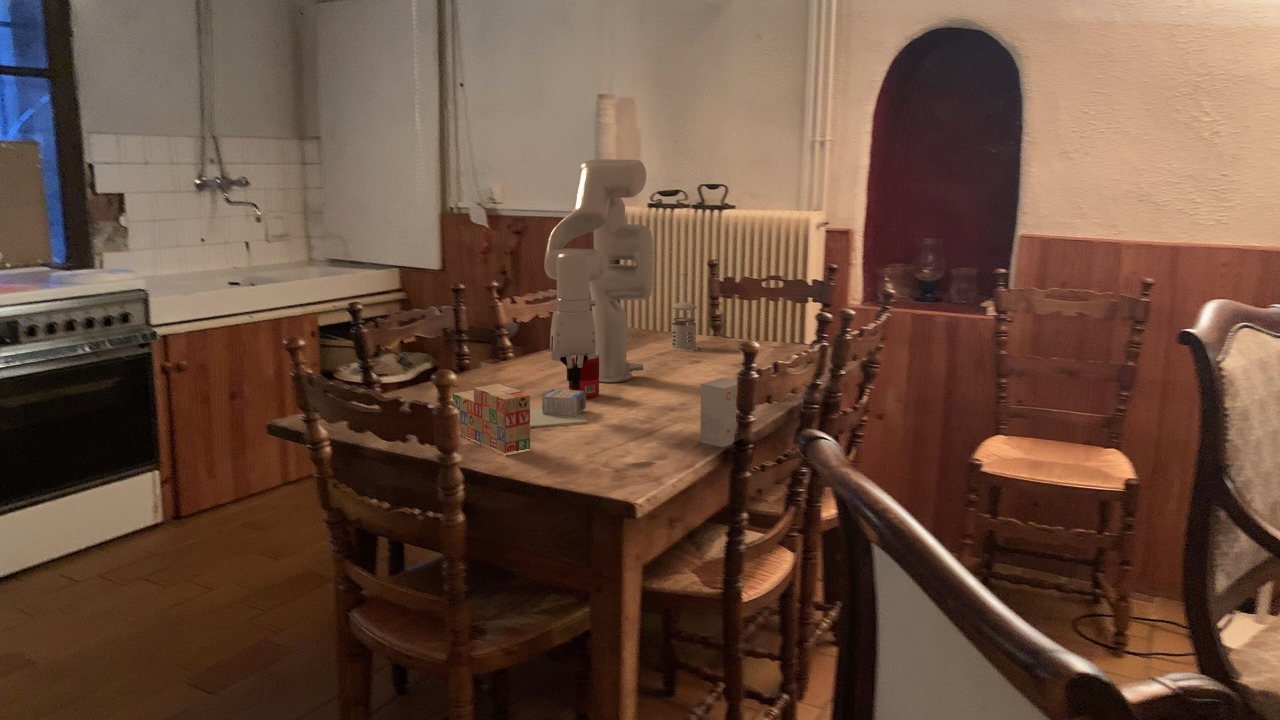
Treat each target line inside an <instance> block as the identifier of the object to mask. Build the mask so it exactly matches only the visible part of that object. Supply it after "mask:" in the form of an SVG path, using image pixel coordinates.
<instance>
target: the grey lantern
mask: <svg viewBox="0 0 1280 720" xmlns="http://www.w3.org/2000/svg"><path fill="white" fill-rule="evenodd" d="M688 275H689V273H688V272H687V271H683V272H682V273H681V276H683V279H684V280H683V283H684V286H683V287H684V288H683V289H684V290H683V301H680V302H677V303H674V304H673V305H672V306H671V308H672V309H674V310H679V311H683V316H682V317H681V316H679V317H678V316H677V317H673V319H672V321H674V322H672V323H671V345H670V346H669V347H670V349H673V350H680V351H679V352H685V351H686V352H690V351H689V350H696V349H698V348H699V347H698V346H697V343H696V340H697V329H696V328H697V324H696V323H695V321H696V319H695V318H694V317H693V314H692V311H693V310H696V309H697V308H698V307H697V305H695V304H694V303H692V302H688V301H686V300H685V299H686V298H685V297H686V276H688ZM687 311H689V312H687ZM689 314H690V317H688V315H689ZM685 315H686V316H685ZM670 349H669V350H670ZM673 350H672V351H673ZM698 350H699V349H698ZM696 351H697V350H696Z"/></svg>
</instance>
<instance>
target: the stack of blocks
mask: <svg viewBox="0 0 1280 720" xmlns="http://www.w3.org/2000/svg"><path fill="white" fill-rule="evenodd" d="M453 400H454V402H455V405H456V407H457V409H458V411H459V415H460V432H461V436H460V437H462V435H463V437H468V438H471V439H473V440H476V441H478V442H480V443H483V444H485V445H487V446H490V447H492V448H495V449H497V450H499V451H501V452H503V453H508V452H513V451H519V450H525V449H530V450H531V437H530V435H531V432H530V431H531V428H530V410H531V409H530V408H531V395H530V394H527V393H525V392H522V390H519V389H516V388H512V387H509V386H505V385H503V384H500V383H494V384H488V385H484V386H477V387H473V389H472V390H466V391H465V390H464V391H460V392H455V393H452V401H453ZM463 437H462V438H463Z"/></svg>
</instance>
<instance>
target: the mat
mask: <svg viewBox="0 0 1280 720" xmlns="http://www.w3.org/2000/svg"><path fill="white" fill-rule="evenodd" d="M582 424H583V425H585V424H589V422H588V419H586V418H585V417H584V416H583V415H582V414H581V413H579V414H578V415H577V416H563V415H547V414H543V412H542V408H536V409H530V427H536V428H543V427H542V426H548V427H558V426H559V427H560V426H571V425H573V426H574V425H582Z"/></svg>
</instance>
